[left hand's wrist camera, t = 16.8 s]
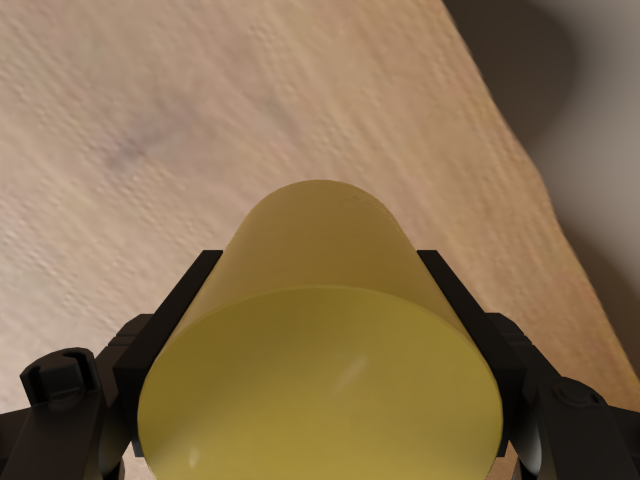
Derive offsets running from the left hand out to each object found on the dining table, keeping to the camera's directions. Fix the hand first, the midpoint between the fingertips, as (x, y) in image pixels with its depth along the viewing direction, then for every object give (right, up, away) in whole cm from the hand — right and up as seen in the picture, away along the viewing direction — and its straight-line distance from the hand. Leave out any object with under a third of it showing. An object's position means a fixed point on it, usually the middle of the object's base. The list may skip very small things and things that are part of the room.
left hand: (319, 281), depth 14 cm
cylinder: (0, +1, +1) cm, 1 cm away
